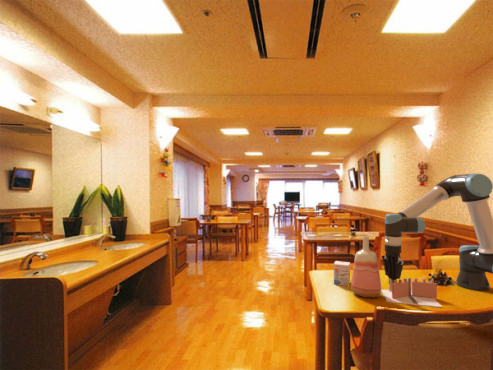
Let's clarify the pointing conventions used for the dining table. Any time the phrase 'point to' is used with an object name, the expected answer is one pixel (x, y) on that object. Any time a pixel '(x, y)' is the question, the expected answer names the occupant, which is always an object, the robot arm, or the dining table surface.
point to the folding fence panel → (400, 289)
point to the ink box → (342, 273)
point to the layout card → (411, 299)
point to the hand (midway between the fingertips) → (392, 291)
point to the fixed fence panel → (423, 288)
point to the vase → (366, 272)
